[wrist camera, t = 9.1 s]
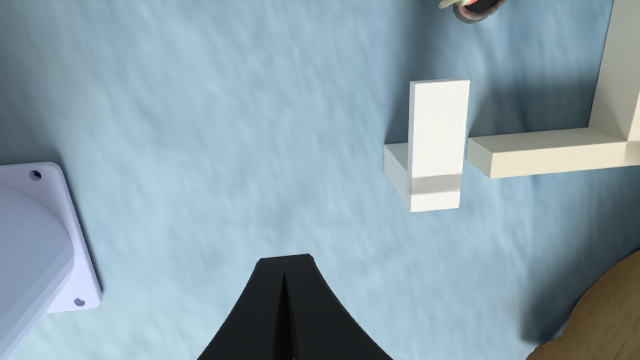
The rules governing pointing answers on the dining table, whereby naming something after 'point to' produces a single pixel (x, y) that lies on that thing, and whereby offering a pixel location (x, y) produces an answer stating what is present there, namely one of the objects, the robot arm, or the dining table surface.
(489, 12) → the composite cable
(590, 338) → the wooden carving
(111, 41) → the dining table surface
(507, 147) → the end holder
